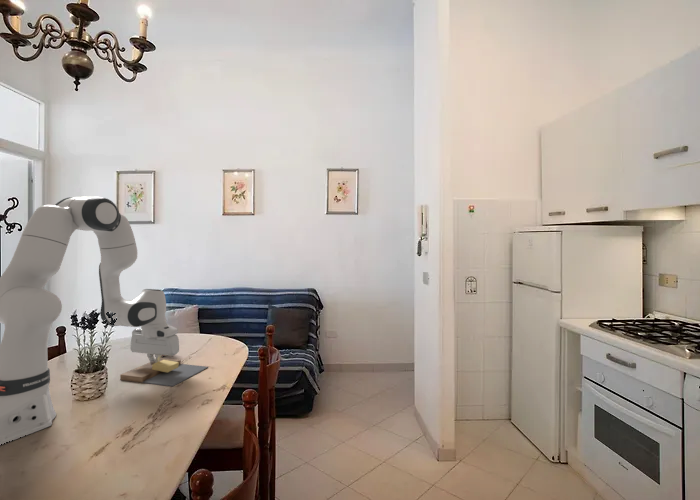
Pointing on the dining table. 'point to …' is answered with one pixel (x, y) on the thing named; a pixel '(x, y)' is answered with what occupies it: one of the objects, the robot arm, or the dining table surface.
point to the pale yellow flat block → (165, 366)
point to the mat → (175, 375)
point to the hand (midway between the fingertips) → (154, 364)
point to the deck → (143, 372)
